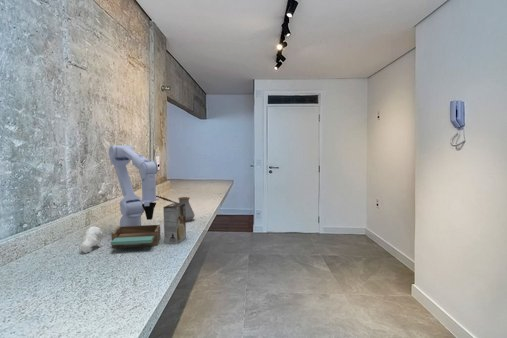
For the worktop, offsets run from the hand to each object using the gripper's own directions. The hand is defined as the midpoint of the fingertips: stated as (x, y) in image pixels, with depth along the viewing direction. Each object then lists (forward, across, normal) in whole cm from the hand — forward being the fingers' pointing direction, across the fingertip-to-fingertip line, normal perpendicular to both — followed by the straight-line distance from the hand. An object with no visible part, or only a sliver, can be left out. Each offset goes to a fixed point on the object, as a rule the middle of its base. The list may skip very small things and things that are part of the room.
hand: (149, 219), depth 141 cm
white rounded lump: (+10, -9, +22) cm, 26 cm away
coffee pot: (+10, +35, -9) cm, 38 cm away
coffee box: (+10, -3, -11) cm, 15 cm away
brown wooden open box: (+9, -3, +5) cm, 11 cm away
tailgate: (+6, -9, +5) cm, 12 cm away
